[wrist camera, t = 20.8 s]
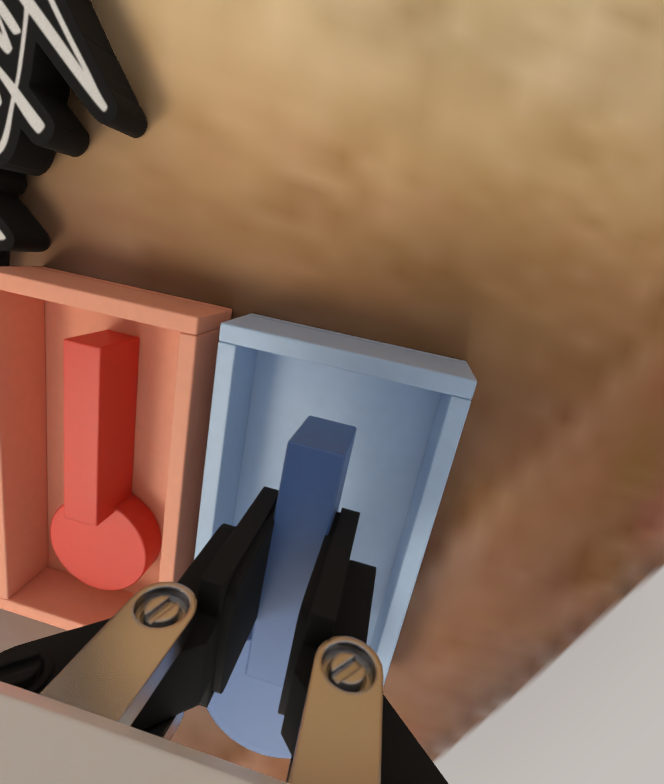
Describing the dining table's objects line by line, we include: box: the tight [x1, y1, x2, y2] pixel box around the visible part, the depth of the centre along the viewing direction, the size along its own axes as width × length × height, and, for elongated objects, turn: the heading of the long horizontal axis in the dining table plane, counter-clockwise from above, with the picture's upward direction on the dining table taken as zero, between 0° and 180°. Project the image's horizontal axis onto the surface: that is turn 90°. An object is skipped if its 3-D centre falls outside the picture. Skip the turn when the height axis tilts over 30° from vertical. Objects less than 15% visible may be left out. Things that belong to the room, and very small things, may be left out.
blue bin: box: [194, 313, 477, 686], centre depth 16 cm, size 14×8×3 cm, turn 169°
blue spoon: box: [207, 416, 357, 758], centre depth 13 cm, size 11×4×2 cm, turn 169°
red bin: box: [0, 266, 232, 630], centre depth 17 cm, size 14×8×3 cm, turn 169°
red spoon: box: [50, 330, 161, 590], centre depth 17 cm, size 11×4×2 cm, turn 169°
